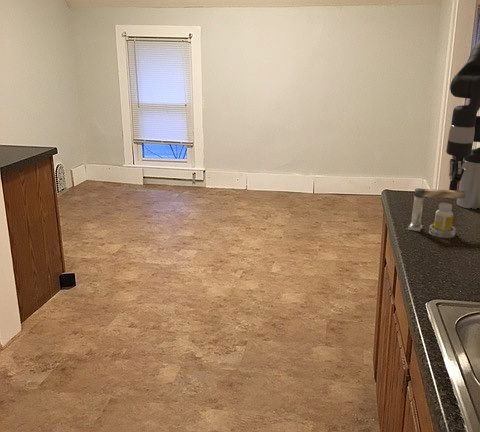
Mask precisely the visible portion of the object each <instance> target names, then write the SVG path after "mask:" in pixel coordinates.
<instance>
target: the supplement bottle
mask: <svg viewBox="0 0 480 432" xmlns="http://www.w3.org/2000/svg"><path fill="white" fill-rule="evenodd" d="M452 210H453V205H452V204H451V203H448V202H440V203H439V204H438V209H437V210H436V211H435V215H434V221H433V224H434V229H436V230H440V231H451V227H452V226H453V219H454V213H453V211H452Z"/></svg>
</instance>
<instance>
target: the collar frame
mask: <svg viewBox="0 0 480 432" xmlns="http://www.w3.org/2000/svg"><path fill="white" fill-rule="evenodd" d="M424 199H425V197H417V196H413V204H412V211H411V219H410V220H411V221H410V223H409V225H408V226H407V230H408V231H413V232H414V231H415V232H419V233H420V232H421V231H422V229H423V224H422V216H423V209H424V201H425V200H424ZM456 231H457V228H456V227H454V226H453V225H452V227H451V231H440V230H436V229H434V223H431V224H430V225H429V227H428V233H429V234H430V235H431V236H434V237H436V238H441V239H451V238H454V237H455V236H456Z"/></svg>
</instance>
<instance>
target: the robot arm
mask: <svg viewBox="0 0 480 432" xmlns="http://www.w3.org/2000/svg"><path fill="white" fill-rule="evenodd" d="M449 90H450V91H449V92H450V93H451V95H452V96H453V97H454V98H460V99H469V103H468V104H464V105H463V104H462V105H456V106H454V108H453V110H452V114H451V115H452V116H451V122H450V123H451V124H450V128H449V132H448V138H447V144H446V154H447V155H449V156H451V158H450V159H449V161H448V162H449V170H448V172H449V173H448V176H449V180H450V181H449V187H448V190H458V191H464V192H465V199H464V198H456V205H457V206H458V207H461V208H464V209H470V208H472V209H471V210H478V209H477V208H479V209H480V146H479V147H477V148H473V146H474V143H480V115H478V112H479V110H480V39H479V40H478V41H477V42H476V44H475V45H474V46H473V48H472V50H471V52H470V54H469V56H468V59H467V61H466V62H465V63H464V65H463V66H462V67H461V68H460V69H459V71H457V72H456V74H455V75H454V77H453V78H452V80H451V82H450V85H449Z"/></svg>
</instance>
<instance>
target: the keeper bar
mask: <svg viewBox="0 0 480 432" xmlns="http://www.w3.org/2000/svg"><path fill="white" fill-rule="evenodd" d="M414 196H417V197H424V198H441V199H442V198H444V199H445V198H446V199H447V198H448V199H457V198H464V199H465V192H464V191H459V189H457V190H449V189H431V188H426V189H425V188H422V187H421V188H416V187H415V189H414ZM414 196H413V197H414Z"/></svg>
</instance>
